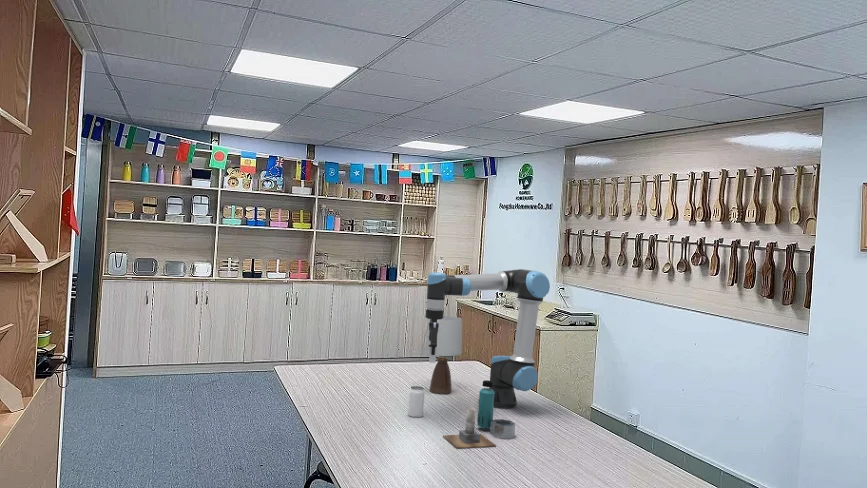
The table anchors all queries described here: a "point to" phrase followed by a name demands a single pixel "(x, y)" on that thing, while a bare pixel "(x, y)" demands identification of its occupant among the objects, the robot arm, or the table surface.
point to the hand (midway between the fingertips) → (431, 359)
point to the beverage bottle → (485, 405)
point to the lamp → (445, 352)
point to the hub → (502, 429)
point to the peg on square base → (469, 435)
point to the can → (416, 401)
